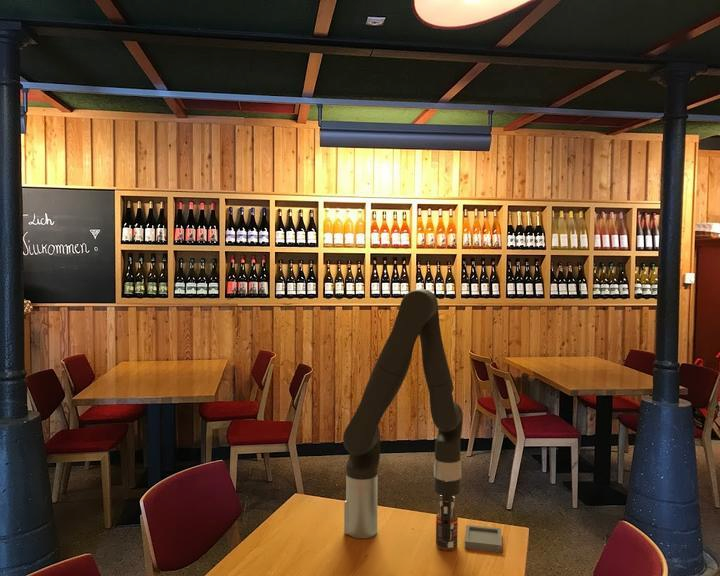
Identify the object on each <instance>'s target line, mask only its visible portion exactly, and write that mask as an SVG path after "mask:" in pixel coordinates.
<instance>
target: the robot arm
mask: <svg viewBox="0 0 720 576" xmlns="http://www.w3.org/2000/svg"><path fill="white" fill-rule="evenodd" d="M441 333H442V332H441V326H440V315H439V303H438V298H437V297H436V295H435V294H434V293H433V292H432V291H430V290H429V289H424V288H419V289H412V290H411V291H409V292H407V293H406V294H405V295H404V296H403V298H402V299H401V302H400V305H399V308H398V310H397V314H396V318H395V320H394V323H393V326H392V330H391V331H390V334H389V336H388V337H387V340H386V341H385V343H384V345H383V347H382V349H381V351H380V354H379V355H378V358H377V360H376V362H375V364H374V366H373V369H372V371H371V373H370V376H369V379H368V381H367V383H366V385H365V388H364V391H363V394H362V397H361V400H360V403H359V405H358V406H357V408H356V411H355V412H354V414H353V415H352V418H351V419H350V421H349V423H348V424H347V426H346V427H345V430H344V431H343V435H342V443H343V446H344V448H345V450H346V451H347V452H348V453H349V456H348V460H347V463H346V469H345V476H346V477H345V478H346V479H345V481H346V483H345V486H346V487H345V498H346V499H345V501H344V503H343V506H344V507H343V513H344V517H343V518H344V519H343V529H344V531H343V534H344V533H345V534H344V535H347V534H348V535H347V536H349V535H350V537H351V536H352V538H354V539H368V538H369V539H370V538H372V537H374V536H376V534H377V533H378V477H379V476H378V471H379V468H378V467H379V464H380V458H381V457H380V456H381V430H380V428H379V427H380V426H379V424H380V422H381V420H382V418H383V416H384V414H385V412H386V411H387V410H388V408H389V406H390V405H391V404H392V402H393V401H394V400H395V398H396V396H397V395H398V393H399V391H400V388H401V387H402V386H403V383H404V381H405V378H406V376H407V374H408V372H409V369H410V367H411V366H410V365H411V361H412V357H413V352H414V348H415V347H414V346H415V343H416V341H417V339H418V337H419V339H420V347H421V361H422V362H421V363H422V369H423V374H424V378H425V381H426V386H427V390H428V395H429V408H430V415H431V419H432V422H433V425H435V427H436V429H438V432H437V437H436V439H435V443H434V463H433V490H434V493H436V494H437V495H440V498H439V512H440V516H441V527H442V539H443V540H450V527H451V518H452V517H453V507H454V508H455V501H456V499H455V498H456V497H455V496H458V495H459V494H461V492H462V465H461V464H462V463H461V462H462V461H461V437H462V431H463V422H464V419H463V418H464V415H463V410H462V407H461V406H460V404H458V403H457V402H456V401H454V398H453V392H454V383H453V378H452V375H451V372H450V371H451V370H450V367H449V363H448V360H447V356H446V352H445V351H446V350H445V348H444V343H443V338H442V334H441ZM450 512H451V514H450ZM444 520H448V522H444Z"/></svg>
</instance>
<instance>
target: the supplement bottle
mask: <svg viewBox="0 0 720 576" xmlns="http://www.w3.org/2000/svg"><path fill="white" fill-rule="evenodd" d="M450 514H451V512H450ZM458 517H459V516H458V514H456V513H455V506H454V507H453V517H452V518H451V527H450V540H443V539H442V527H441V516H440V511H439V512H437V513H436V516H435V518H436V519H435V546H436V547H437V548H438V549H440V550H443V551H449V552H451V551H454V550H456V549H457V548H458V530H459V529H458V526H459V525H458V524H459V523H458V522H459V521H458V519H459V518H458ZM444 522H448V520H444Z"/></svg>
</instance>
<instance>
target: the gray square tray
mask: <svg viewBox="0 0 720 576" xmlns="http://www.w3.org/2000/svg"><path fill="white" fill-rule="evenodd" d="M464 549H470V550H478V551H485V552H492V551H495V552H494V553H501V552H502V553H503V540H502V528H500V527H491V526H482V525H481V526H480V525H474V524H473V525H472V524H465V534H464ZM496 551H497V552H496Z"/></svg>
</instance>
